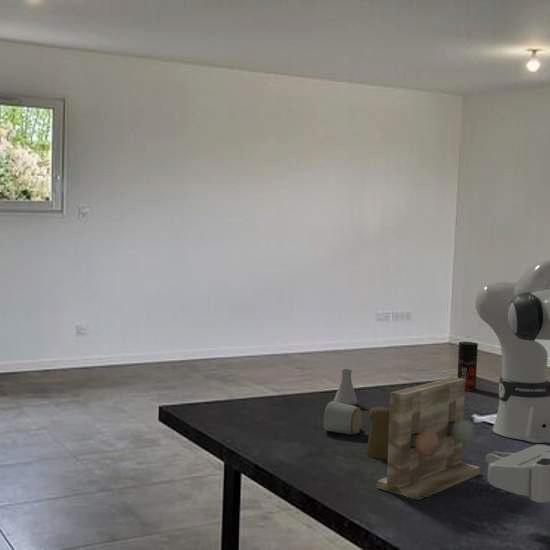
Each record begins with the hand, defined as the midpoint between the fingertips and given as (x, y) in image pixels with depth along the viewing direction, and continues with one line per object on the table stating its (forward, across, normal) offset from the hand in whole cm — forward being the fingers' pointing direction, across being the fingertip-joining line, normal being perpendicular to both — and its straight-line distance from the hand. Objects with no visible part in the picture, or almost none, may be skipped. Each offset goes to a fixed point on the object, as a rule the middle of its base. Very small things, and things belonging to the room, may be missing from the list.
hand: (489, 456), depth 149 cm
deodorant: (+59, -96, +10) cm, 113 cm away
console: (+17, -7, +10) cm, 21 cm away
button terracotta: (+16, 0, +3) cm, 16 cm away
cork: (+35, -15, +10) cm, 40 cm away
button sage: (+16, -14, +3) cm, 22 cm away
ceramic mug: (+53, -24, +10) cm, 60 cm away
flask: (+73, -50, +10) cm, 88 cm away
